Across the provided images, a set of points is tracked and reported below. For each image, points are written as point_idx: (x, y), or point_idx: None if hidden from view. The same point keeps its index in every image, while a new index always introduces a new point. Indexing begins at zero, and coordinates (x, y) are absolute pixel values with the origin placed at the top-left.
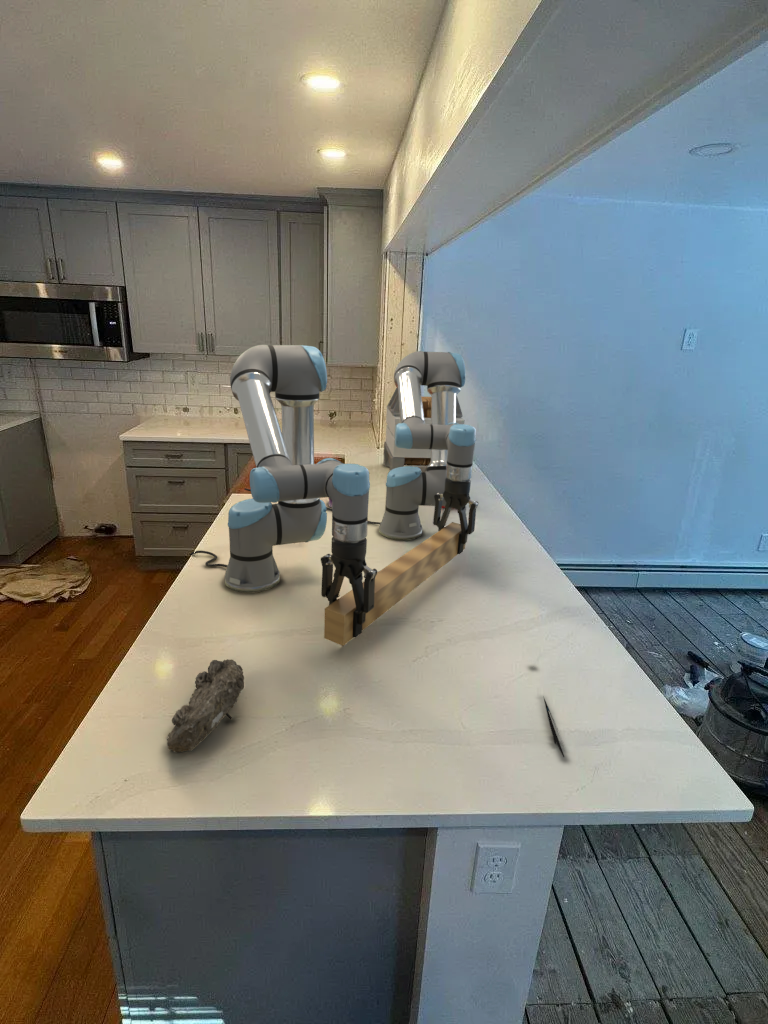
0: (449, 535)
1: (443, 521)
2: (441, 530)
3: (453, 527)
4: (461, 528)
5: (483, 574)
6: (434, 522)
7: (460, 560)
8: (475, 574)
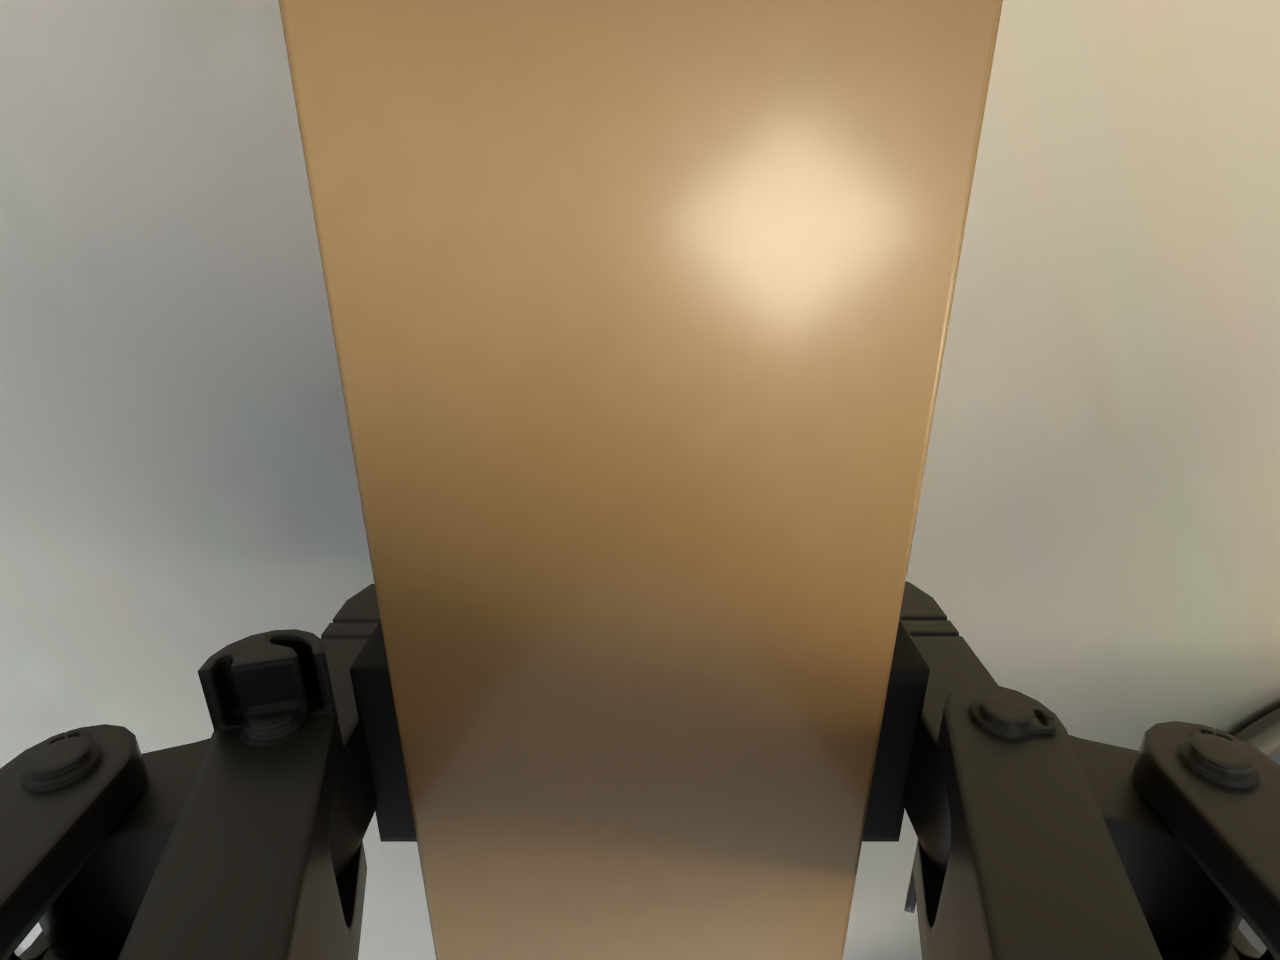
0: (466, 287)
1: (997, 890)
2: (871, 508)
3: (665, 859)
4: (293, 815)
5: (263, 481)
6: (1253, 788)
7: None
8: (323, 432)
